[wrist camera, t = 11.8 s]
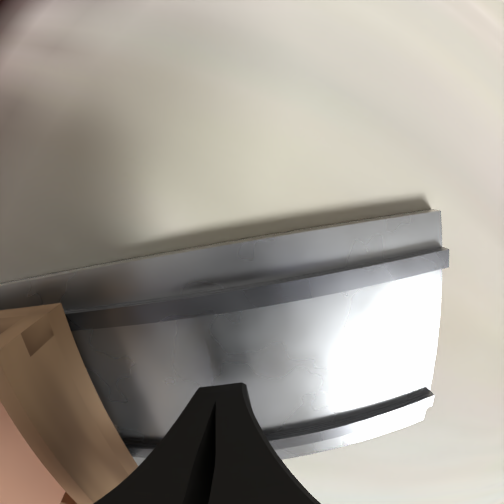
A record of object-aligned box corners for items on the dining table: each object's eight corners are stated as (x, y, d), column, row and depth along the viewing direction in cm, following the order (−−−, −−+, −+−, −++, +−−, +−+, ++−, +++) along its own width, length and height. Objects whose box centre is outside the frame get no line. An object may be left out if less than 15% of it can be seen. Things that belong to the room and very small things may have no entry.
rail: (418, 413, 11) (435, 435, 9) (0, 435, 11) (-12, 451, 9) (432, 209, 9) (463, 214, 7) (-66, 297, 9) (-86, 307, 7)
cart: (156, 468, 10) (138, 545, 6) (24, 449, 10) (-8, 497, 6) (78, 290, 8) (-5, 353, 4) (-48, 308, 8) (-106, 343, 4)
